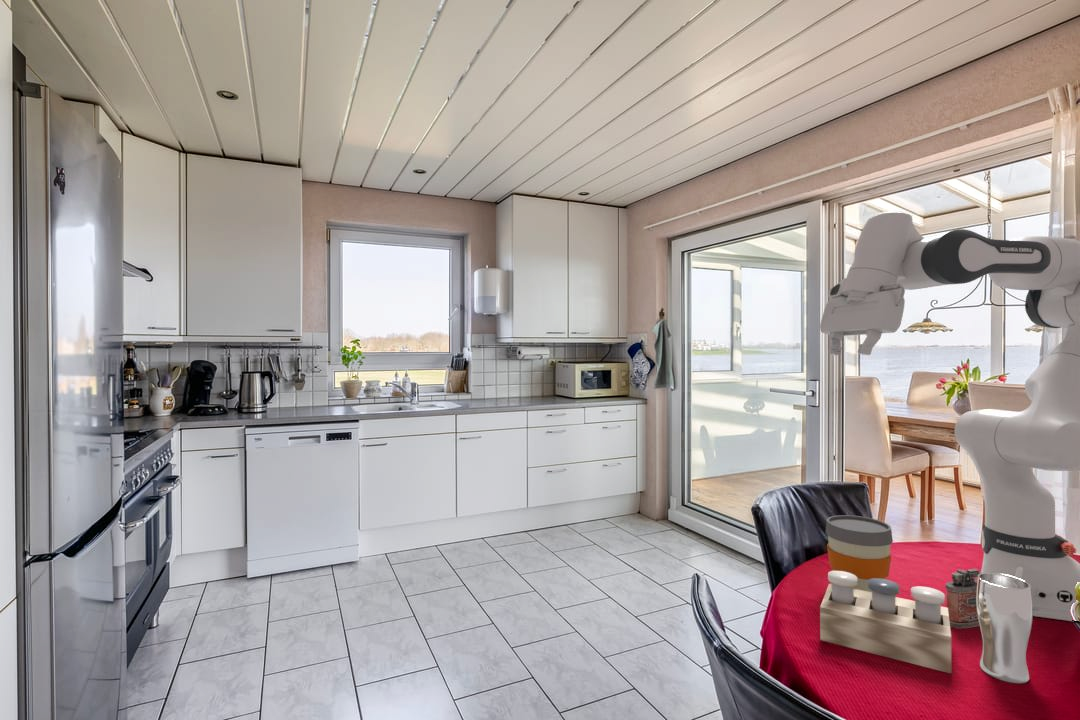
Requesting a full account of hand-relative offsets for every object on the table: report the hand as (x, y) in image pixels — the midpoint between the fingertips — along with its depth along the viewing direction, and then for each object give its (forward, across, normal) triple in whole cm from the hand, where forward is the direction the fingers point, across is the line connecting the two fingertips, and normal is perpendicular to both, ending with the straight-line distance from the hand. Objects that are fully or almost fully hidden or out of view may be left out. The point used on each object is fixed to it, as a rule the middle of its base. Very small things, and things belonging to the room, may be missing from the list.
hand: (848, 354), depth 110 cm
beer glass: (+46, -23, -26) cm, 58 cm away
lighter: (+43, -7, -34) cm, 55 cm away
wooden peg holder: (+50, -12, -15) cm, 53 cm away
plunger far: (+48, -8, -9) cm, 49 cm away
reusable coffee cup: (+47, +7, -23) cm, 53 cm away
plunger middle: (+46, -12, -14) cm, 50 cm away
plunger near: (+45, -16, -18) cm, 51 cm away
